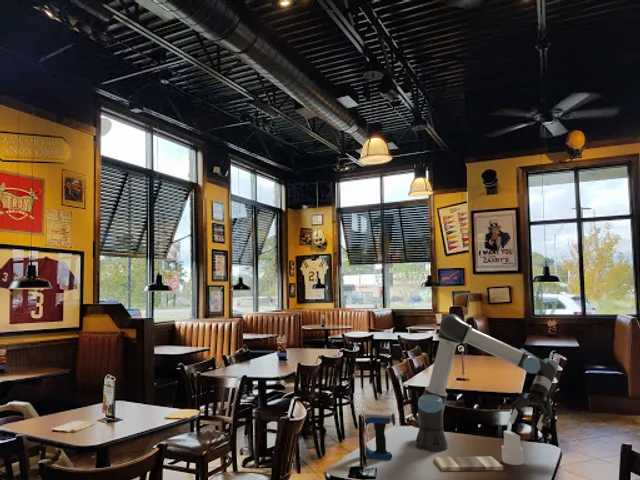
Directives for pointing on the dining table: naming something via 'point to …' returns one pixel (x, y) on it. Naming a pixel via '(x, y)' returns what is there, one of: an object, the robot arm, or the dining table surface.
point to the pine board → (467, 463)
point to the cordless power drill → (379, 434)
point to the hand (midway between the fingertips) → (524, 425)
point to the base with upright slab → (512, 449)
